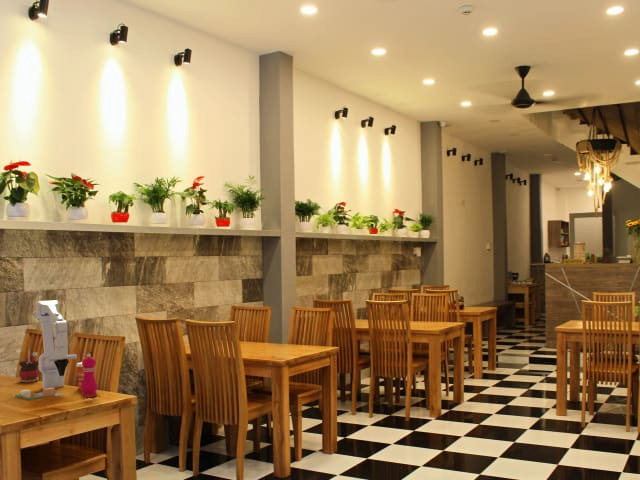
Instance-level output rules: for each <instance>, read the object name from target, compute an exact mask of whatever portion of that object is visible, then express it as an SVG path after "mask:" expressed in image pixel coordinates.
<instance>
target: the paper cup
mask: <svg viewBox="0 0 640 480" xmlns="http://www.w3.org/2000/svg"><path fill="white" fill-rule="evenodd" d="M83 368H84V367H83V366H82V361H81V362H77V363H76V373H77V385H78V388H77V389H78V390H80V391H82V390H81V386H82V383H83V380H84V371H83V370H84V369H83Z"/></svg>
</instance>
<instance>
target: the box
mask: <svg viewBox="0 0 640 480" xmlns="http://www.w3.org/2000/svg"><path fill="white" fill-rule="evenodd" d="M15 398H18V399H19V398H20V399H24V400H27V401H33V400H38V399H43V398H45V399H46V397H45V395H42V396H36V395H35V396H31V397H26V396H22V395H20V393H18V394H17V393H16V394H15Z"/></svg>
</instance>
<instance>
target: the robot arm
mask: <svg viewBox="0 0 640 480" xmlns="http://www.w3.org/2000/svg"><path fill="white" fill-rule="evenodd" d="M59 309H60V305H59V301H58V300H57V299H55V300H38V301H37V302H36V304H35V313H36V318H37V319H38V320H40V324H41V331H42V333H41V334H42V344H43V353H42V354H41V355H40V356H39V357H38V362H39V364H38V369H39V373H41V374H42V389H45V388H55V389H56V388H62V387H64V386H65V374H66V369H67V367H68V365H69V363H70V360H73V359H74V360H75V359H76V360H77V358H78V355H77V354H76V353H75V354H74V353H73V354H69V353H68V352H69V351H68V350H69V349H68V346H69V345H68V343H69V342H68V341H69V340H68V333H69V332H70V324H69V320H67V319H66V320H65V319H64V317H63V316H62V313H60V312H59Z"/></svg>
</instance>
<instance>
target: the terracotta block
mask: <svg viewBox="0 0 640 480" xmlns="http://www.w3.org/2000/svg"><path fill="white" fill-rule="evenodd" d="M42 392H43V395H45V396H51V397H53V396H52V395H55V392H56V388H45V389H44V388H42Z"/></svg>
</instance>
